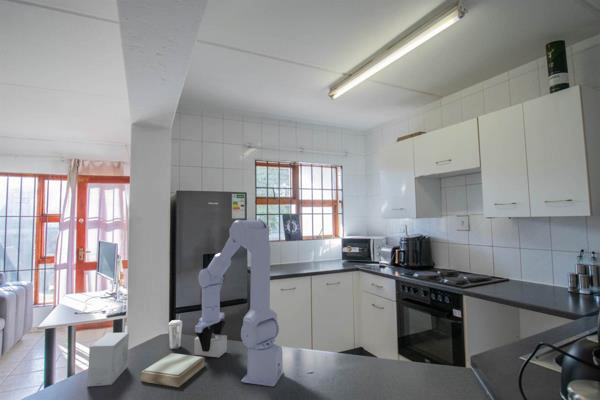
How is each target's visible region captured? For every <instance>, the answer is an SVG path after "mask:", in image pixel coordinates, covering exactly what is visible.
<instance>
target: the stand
mask: <svg viewBox="0 0 600 400" xmlns="http://www.w3.org/2000/svg"><path fill="white" fill-rule="evenodd" d="M205 357H206V356H200V355H189V354H181V353H173V352H172V353H169V354H168V355H166V356H164V357H162V358H161V359H159V360H158V361H156V362H154V363H153V364H152V365H150V366H148V367H146V368H145V369H144V370H142V371H140V375H141V376H140V382H144V383H150V384H156V385H162V386H168V387H175V388H179V387H181V386H182V385H183V384H184V383H186V382H187V381H188V380H189V379H191V378H192V377H193V376H194V375H195V374H197V373H198V372H200V371H201V370H202V369H204V367H205V363H206V362H205V359H206V358H205Z"/></svg>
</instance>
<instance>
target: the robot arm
mask: <svg viewBox="0 0 600 400" xmlns="http://www.w3.org/2000/svg"><path fill="white" fill-rule="evenodd" d="M240 247H243V248H245V250H247V251H248V252H249V253H250V293H249V294H250V303H249V310H248V311H247V313H246V314H245V315H244V317H243V318H242V319H243V321H242V322H243V323H242V326H241V330H240V338H241V341H242V342H243V344H244V346H245V347H246V349H247V353H246V355H247V357H246V358H247V359H246V360H247V362H246V363H247V366H246V368H247V371H246V372H247V373H246V375H244V376H243V378H242V379H241V381H240V382H242V383H244V384H245V383H246V384H253V385H259V386H260V385H261V386H265V387H267V386H268V387H275V386H276V384H277V383H278V382H279V380H280V378H282V377H281V376H282V375H283V374H284V370H283V368H284V366H283V348H282V346H281V345H277V344H275V342H276V338H277V337H278V335H279V333H280V326H279V322H278V316H277V315H278V313H277V312H275V311H274V310H273V309H271V307H270V306H271V305H270V303H271V244H270V226H268V224H267V223H266V222H265V221H264V220H262V219H258V220H251V219H250V220H245V219H244V220H241V219H236V220H235V221H233V222H232V224H231V226H230V228H229V237H228V239H227V241H226V242H225V245H224V247H223V248H222V249H221V250H222V251H221V252H218V253H215V254H214V256H213V258H212V260H211V261H210V262H209V264H208V266H207V267H205V268H203V269H201V270H200V271H199V273H198V284H199V286H200V287H201V317H200V318H199V319H198V323H197V324H196V325H195V326H194V333H195V334H196V337H198V338H199V340H200V343H201V347H202V351H205V352H208V351H209V349H210V341H211V336H212V333H214V334H216V335H222V331H223V328H224V326H225V324H226V321H225V320H223V319H225V312H221V311H220V309H221V308H220V307H221V304H220V303H221V301H220V300H221V295H220V294H221V290H222V286H223V285H222V284H223V283H224V279H225V278H224V275H225V273H226V272H227V270H228V268H230V266H231V264H232V259H231V258H232V257H233V256H234V254H236V252H237V251H238V250H239V249H240Z"/></svg>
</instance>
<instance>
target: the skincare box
mask: <svg viewBox="0 0 600 400" xmlns="http://www.w3.org/2000/svg"><path fill="white" fill-rule="evenodd" d="M129 334H130V333H129V332H128V331H127V332H125V331H124V332H107V333H106V334H104V335H103V336H102V337H101V338H99V339H98V340H96V341H95V342H94V343H92V345H90V346H89V350H88V351H89V352H88V353H89V354H88V371H87V379H86V380H87V381H86V383H87V384H86V387H87V388H88V387H98V386H99V387H101V386H112V385H113V384H114V382H116V380H117V379H118V378H119V377H120V376H121V375H122V373H123V372H124V371H125V370H126V369H127V368H128V355H129V336H130V335H129Z"/></svg>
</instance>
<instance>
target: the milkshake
mask: <svg viewBox="0 0 600 400" xmlns="http://www.w3.org/2000/svg"><path fill="white" fill-rule="evenodd" d="M178 315H179V316H178V319H174V320H171V321H170V322H169V323H168V335H169V337H168V338H169V348H170V349H171V350H177V349H179V348H180V347H181V342H182V341H181V339H182V332H183V331H182V329H183V321H182V320H180V319H181V314H178Z"/></svg>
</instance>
